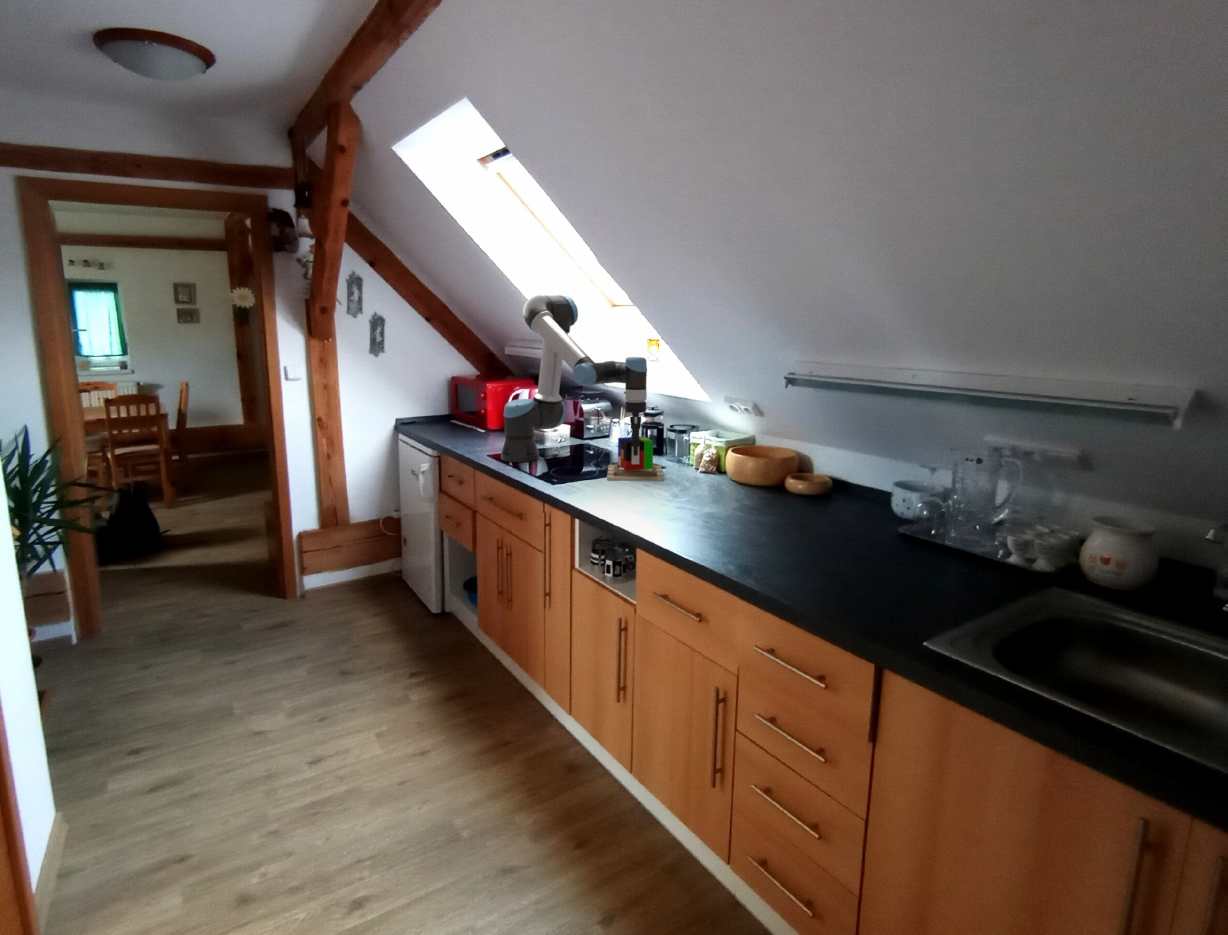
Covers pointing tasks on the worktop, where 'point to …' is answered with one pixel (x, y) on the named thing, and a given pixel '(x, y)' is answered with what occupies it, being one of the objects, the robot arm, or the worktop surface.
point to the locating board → (634, 473)
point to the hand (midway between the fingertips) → (635, 460)
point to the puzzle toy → (644, 453)
